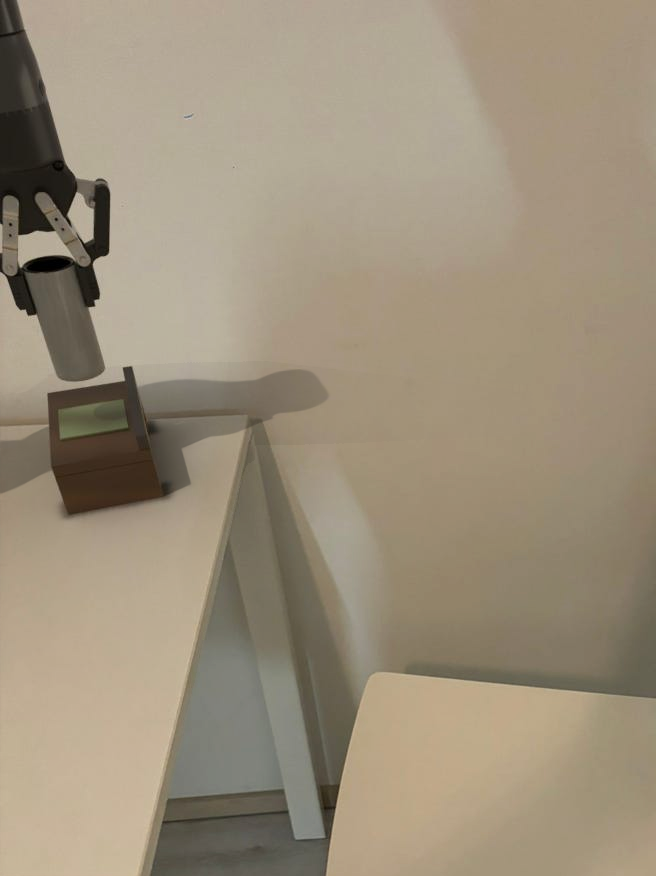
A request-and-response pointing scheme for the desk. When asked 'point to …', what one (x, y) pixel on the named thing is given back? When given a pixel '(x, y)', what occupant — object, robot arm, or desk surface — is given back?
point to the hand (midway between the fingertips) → (61, 307)
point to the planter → (64, 317)
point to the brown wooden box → (101, 446)
